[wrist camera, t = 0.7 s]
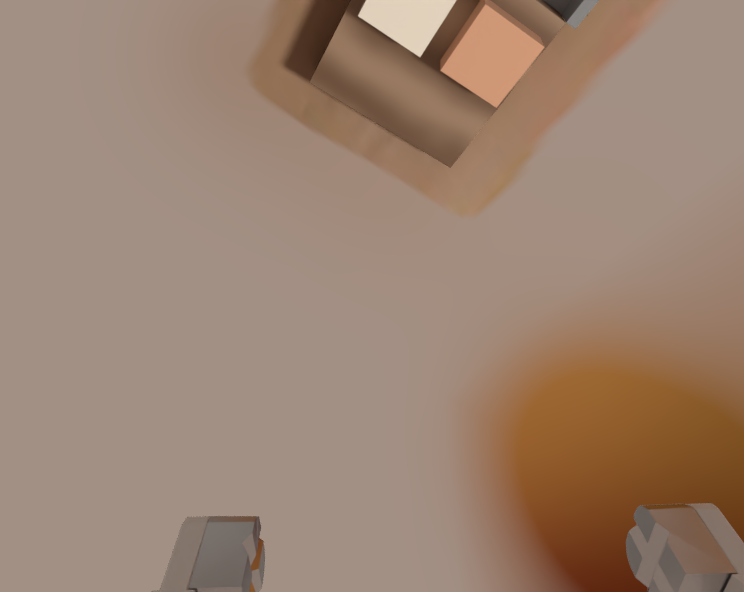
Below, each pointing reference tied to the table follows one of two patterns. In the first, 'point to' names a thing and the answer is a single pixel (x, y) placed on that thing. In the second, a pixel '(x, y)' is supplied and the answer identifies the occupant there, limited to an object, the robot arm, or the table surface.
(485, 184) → the table surface
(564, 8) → the box
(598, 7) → the table surface
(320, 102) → the table surface
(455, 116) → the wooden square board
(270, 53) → the table surface
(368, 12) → the cream tile
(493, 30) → the terracotta tile
